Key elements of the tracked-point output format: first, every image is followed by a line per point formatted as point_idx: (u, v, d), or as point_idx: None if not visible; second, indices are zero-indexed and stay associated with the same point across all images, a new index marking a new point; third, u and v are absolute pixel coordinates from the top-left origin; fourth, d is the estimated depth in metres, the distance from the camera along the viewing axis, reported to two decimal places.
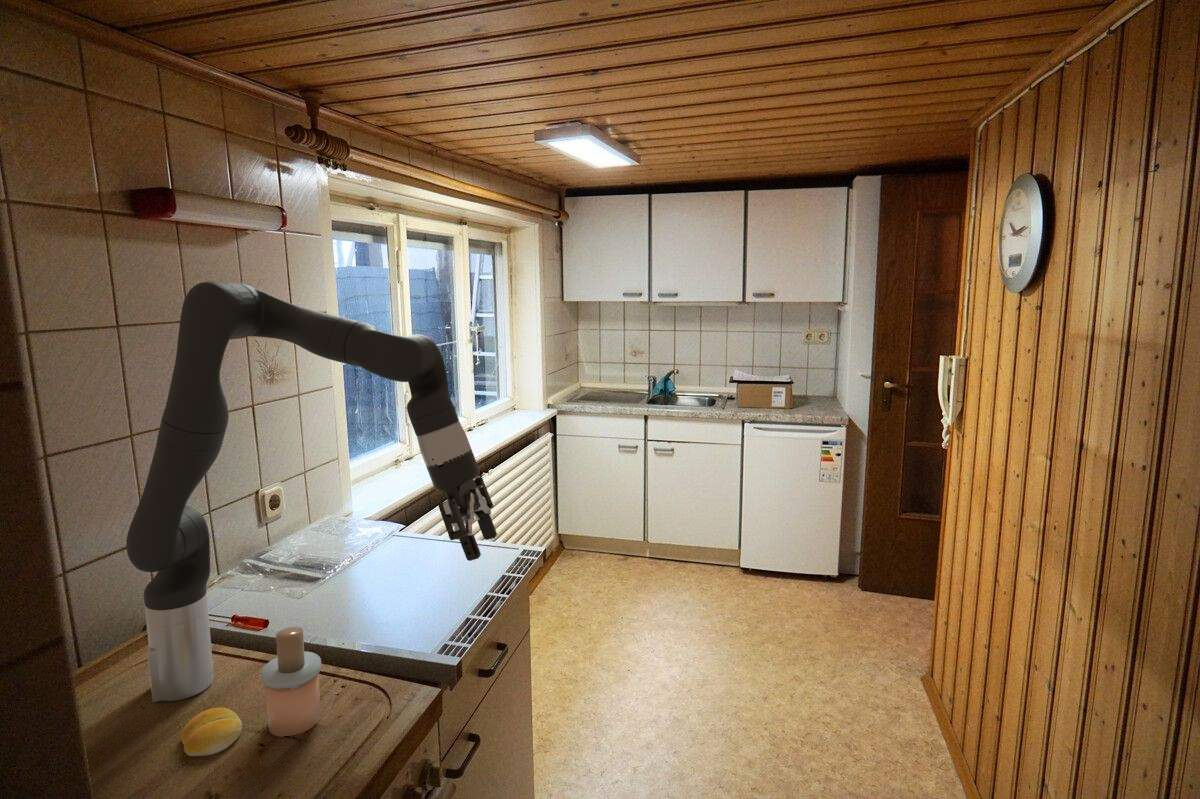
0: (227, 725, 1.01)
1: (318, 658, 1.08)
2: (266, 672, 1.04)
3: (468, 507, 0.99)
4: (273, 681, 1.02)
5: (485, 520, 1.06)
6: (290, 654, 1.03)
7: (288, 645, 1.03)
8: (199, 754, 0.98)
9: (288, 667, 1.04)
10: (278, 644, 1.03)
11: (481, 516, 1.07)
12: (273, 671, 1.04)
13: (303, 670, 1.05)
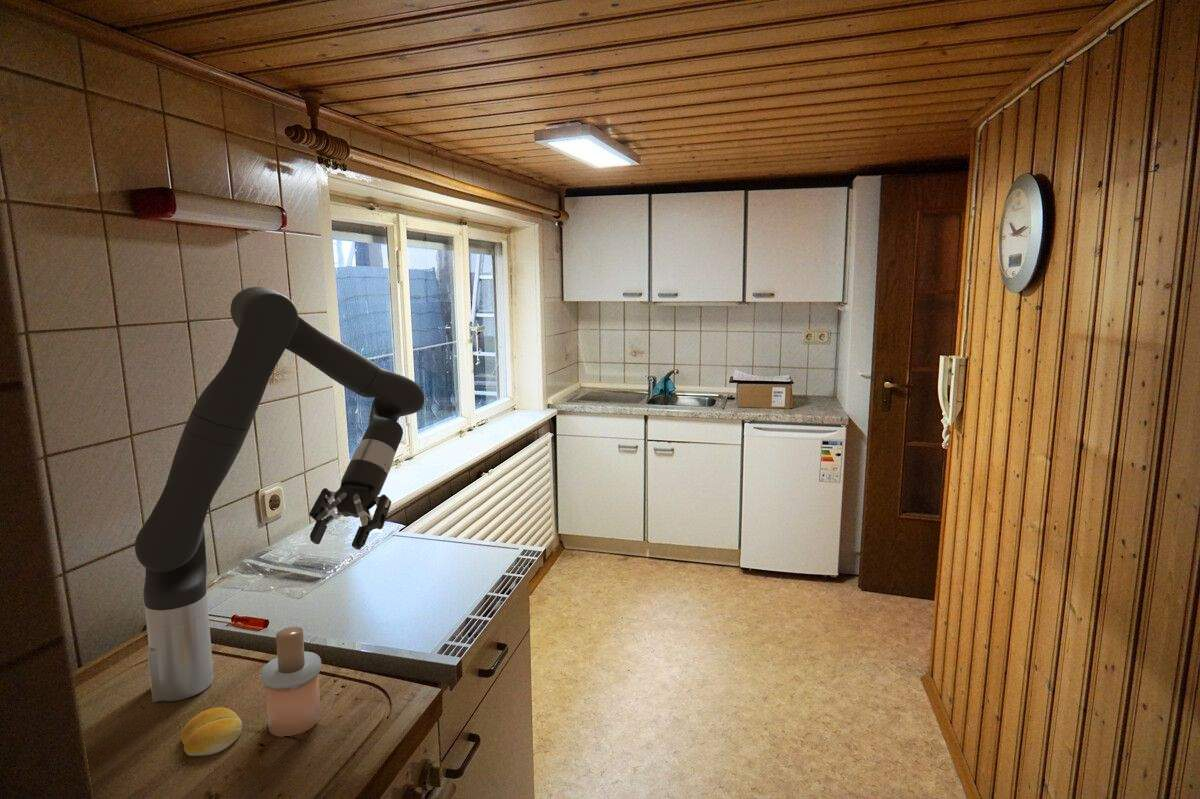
0: (227, 725, 1.01)
1: (318, 658, 1.08)
2: (266, 672, 1.04)
3: (369, 511, 1.20)
4: (273, 681, 1.02)
5: (324, 526, 1.18)
6: (290, 654, 1.03)
7: (288, 645, 1.03)
8: (199, 754, 0.98)
9: (288, 667, 1.04)
10: (278, 644, 1.03)
11: (324, 521, 1.18)
12: (273, 671, 1.04)
13: (303, 670, 1.05)
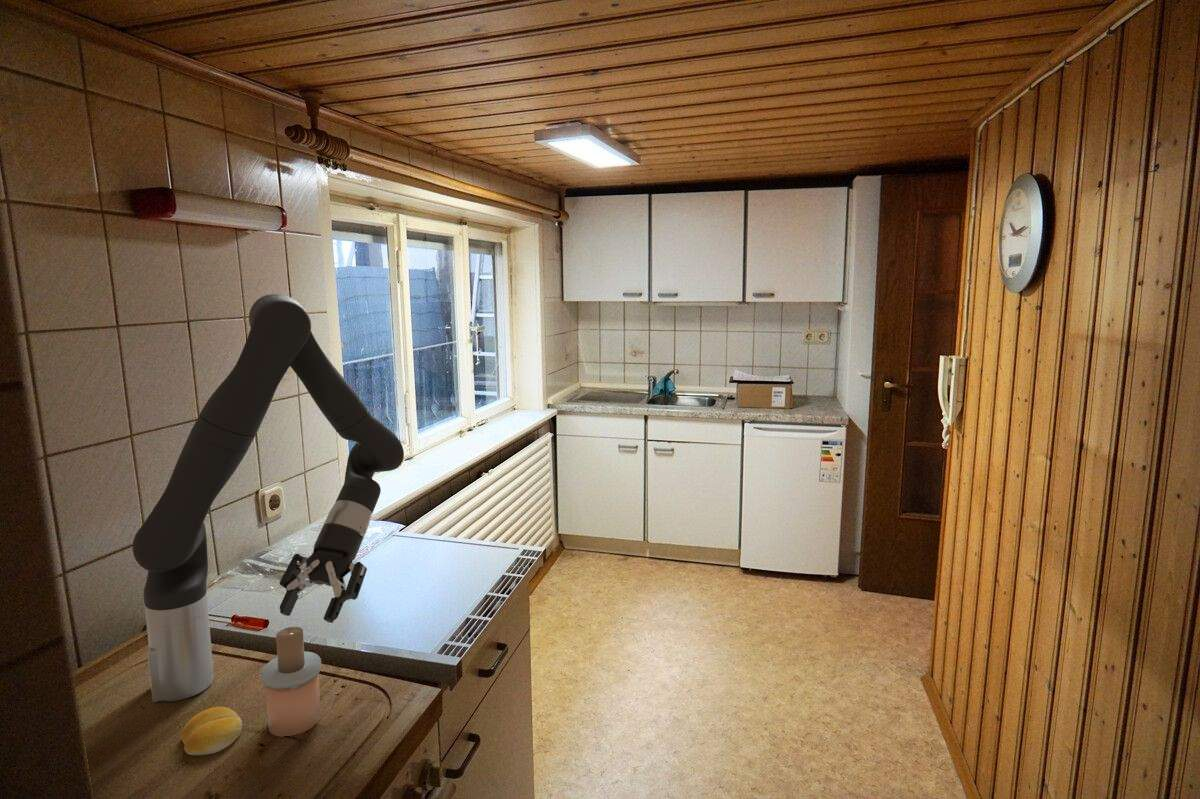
0: (228, 725, 1.02)
1: (318, 658, 1.08)
2: (266, 672, 1.04)
3: (343, 579, 1.13)
4: (273, 681, 1.02)
5: (295, 596, 1.11)
6: (290, 654, 1.03)
7: (288, 645, 1.03)
8: (199, 753, 0.98)
9: (288, 667, 1.04)
10: (278, 644, 1.03)
11: (295, 590, 1.12)
12: (273, 671, 1.04)
13: (303, 670, 1.05)
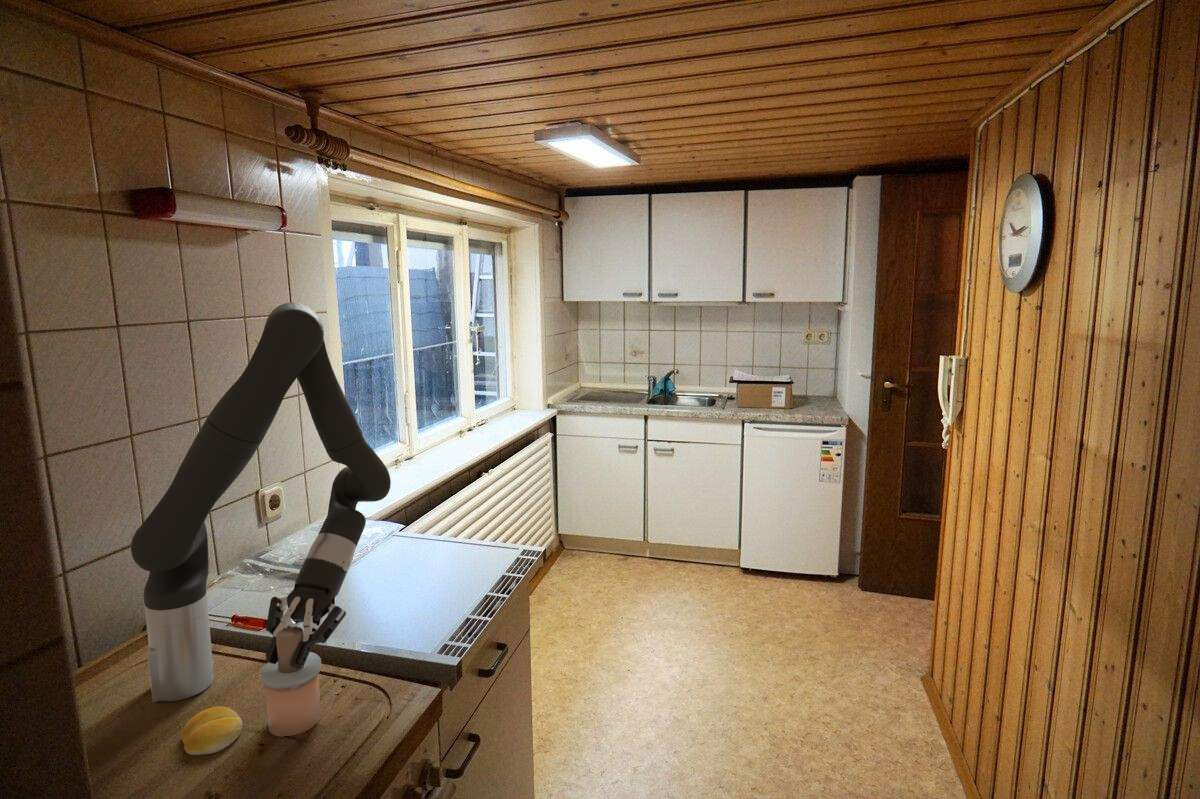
0: (228, 724, 1.02)
1: (318, 658, 1.08)
2: (266, 672, 1.04)
3: (321, 619, 1.09)
4: (273, 681, 1.02)
5: None
6: (290, 654, 1.03)
7: (288, 645, 1.03)
8: (199, 753, 0.99)
9: (288, 667, 1.04)
10: (278, 644, 1.03)
11: None
12: (273, 671, 1.04)
13: (303, 670, 1.05)
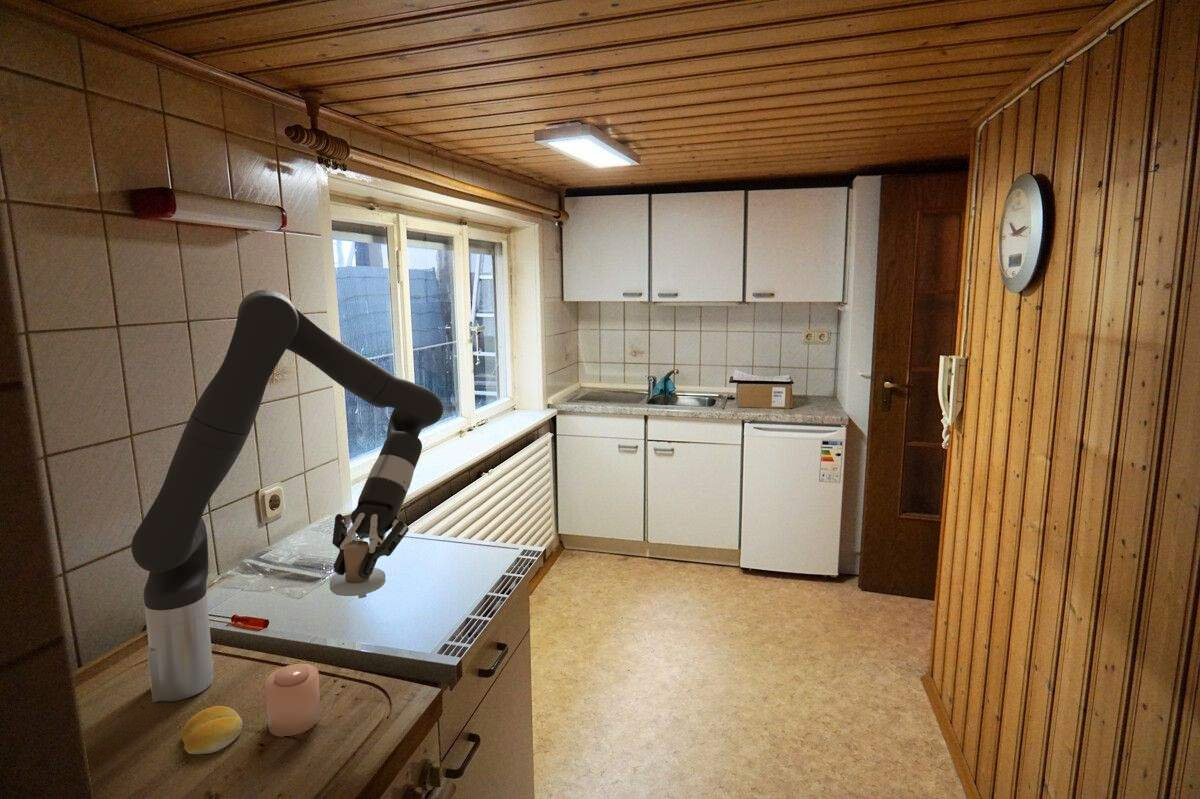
0: (228, 724, 1.02)
1: (382, 572, 1.12)
2: (334, 582, 1.07)
3: (384, 535, 1.12)
4: (342, 589, 1.05)
5: None
6: (358, 564, 1.07)
7: (356, 555, 1.07)
8: (199, 752, 0.99)
9: (356, 577, 1.07)
10: (346, 555, 1.07)
11: None
12: (341, 582, 1.08)
13: (370, 581, 1.08)
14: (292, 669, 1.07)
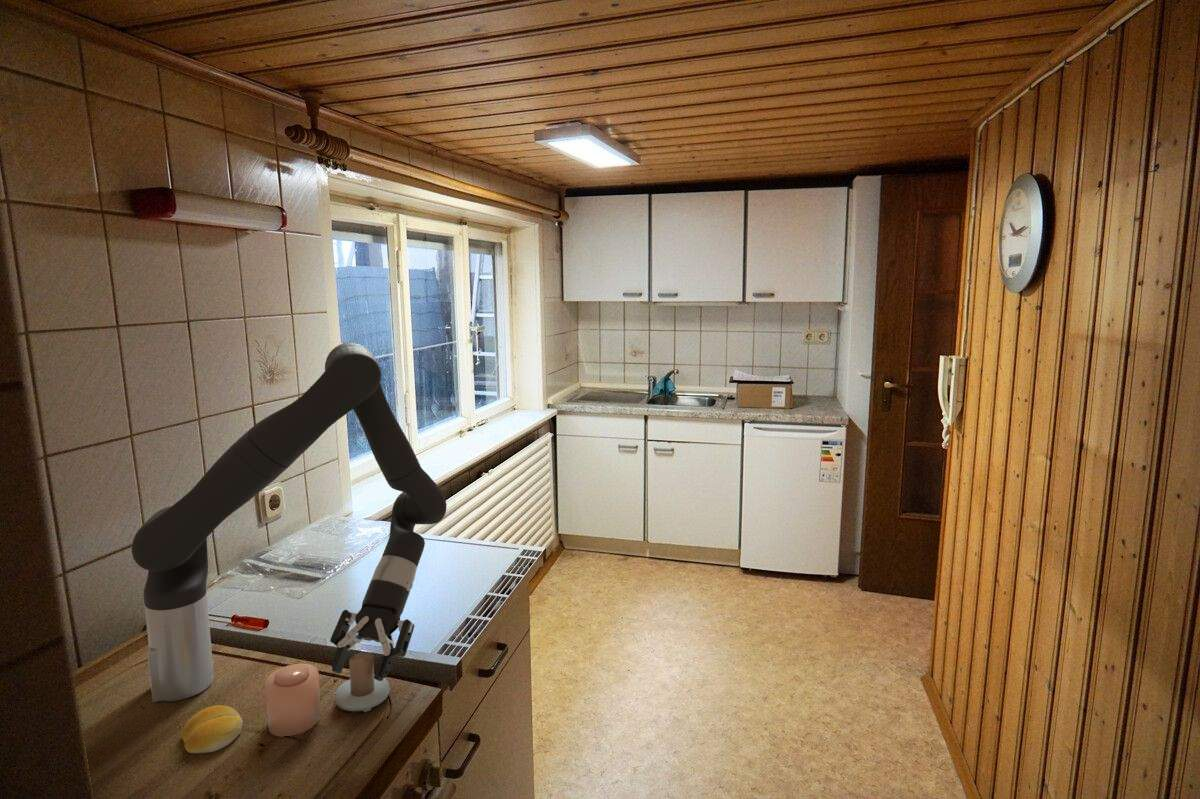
0: (228, 723, 1.02)
1: (386, 681, 1.15)
2: (340, 696, 1.11)
3: (391, 635, 1.16)
4: (348, 704, 1.09)
5: (346, 653, 1.14)
6: (363, 678, 1.11)
7: (361, 670, 1.10)
8: (200, 751, 0.99)
9: (361, 691, 1.11)
10: (351, 669, 1.10)
11: (345, 648, 1.14)
12: (346, 694, 1.11)
13: (374, 693, 1.12)
14: (292, 669, 1.07)
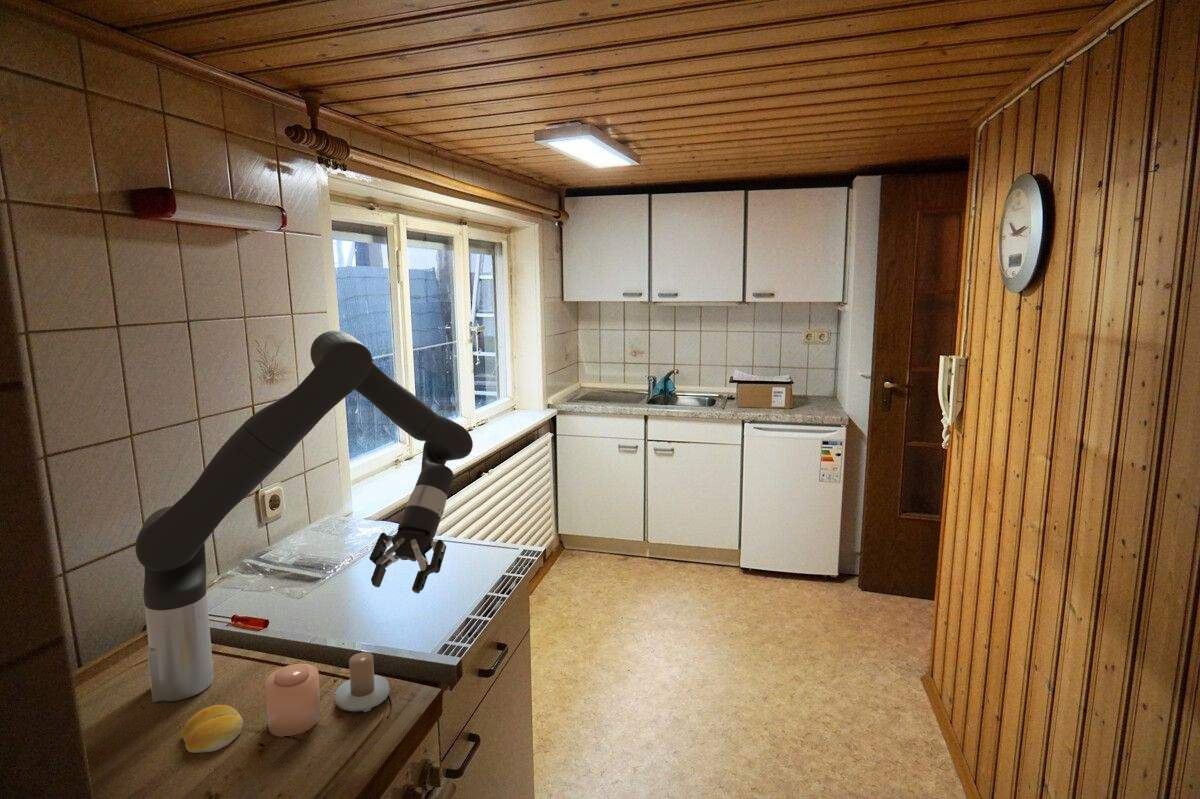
0: (228, 722, 1.02)
1: (386, 681, 1.15)
2: (340, 696, 1.11)
3: (425, 555, 1.26)
4: (348, 704, 1.09)
5: (383, 570, 1.25)
6: (363, 678, 1.11)
7: (361, 670, 1.10)
8: (200, 751, 0.99)
9: (361, 691, 1.11)
10: (351, 669, 1.10)
11: (383, 565, 1.25)
12: (346, 694, 1.11)
13: (374, 693, 1.12)
14: (292, 669, 1.07)
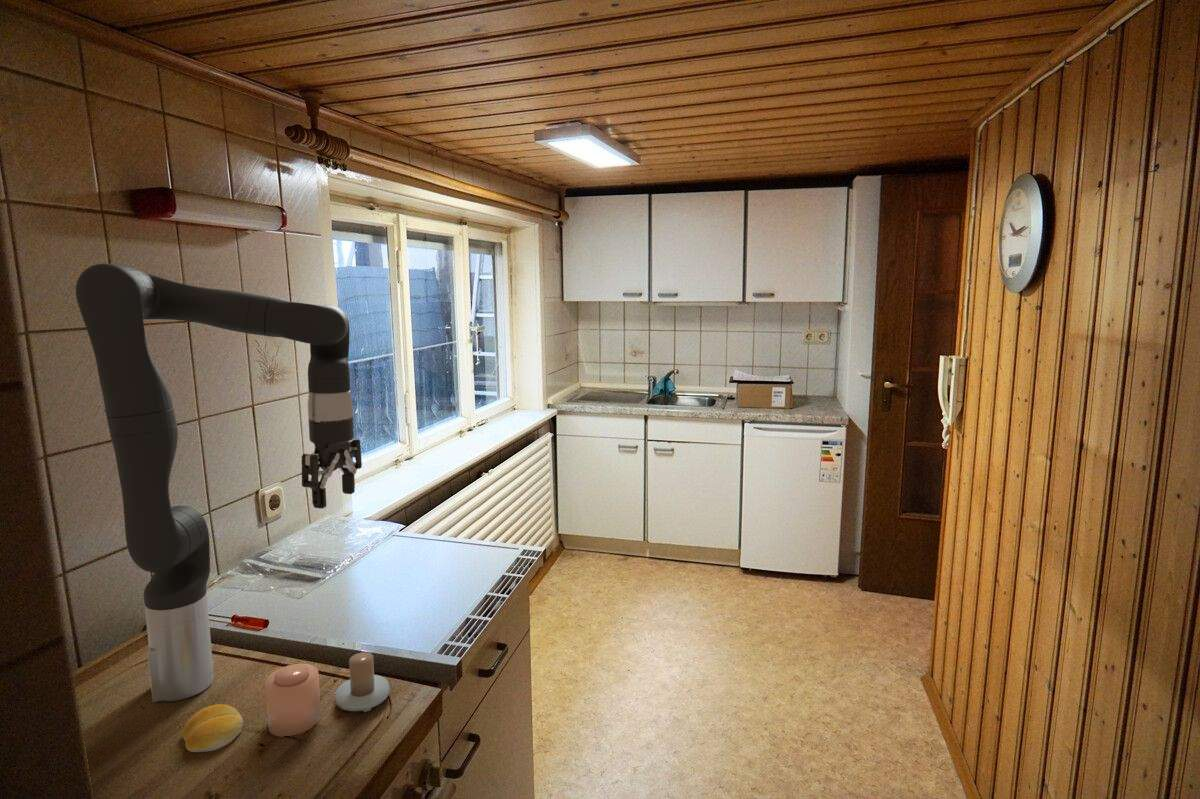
0: (228, 722, 1.02)
1: (386, 681, 1.15)
2: (340, 696, 1.11)
3: (329, 464, 1.14)
4: (348, 704, 1.09)
5: (348, 477, 1.22)
6: (363, 678, 1.11)
7: (361, 670, 1.10)
8: (200, 750, 0.99)
9: (361, 691, 1.11)
10: (351, 669, 1.10)
11: (346, 472, 1.22)
12: (346, 694, 1.11)
13: (374, 693, 1.12)
14: (292, 669, 1.07)
